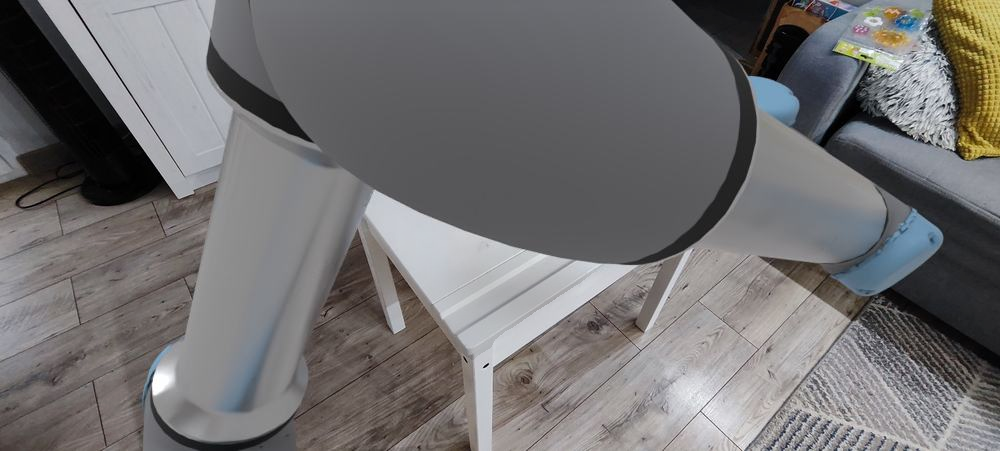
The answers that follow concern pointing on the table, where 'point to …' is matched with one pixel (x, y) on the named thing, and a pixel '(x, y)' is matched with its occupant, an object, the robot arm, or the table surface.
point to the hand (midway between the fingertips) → (435, 161)
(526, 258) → the table surface
